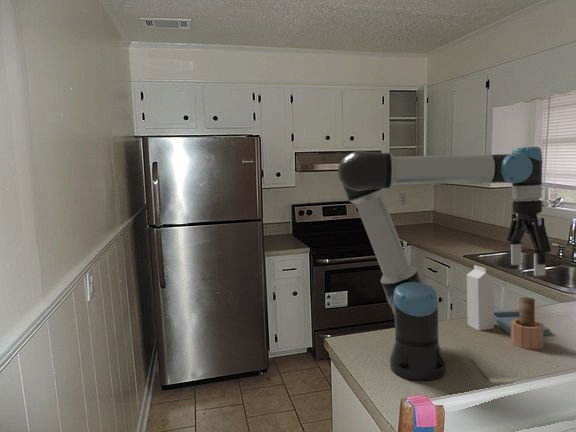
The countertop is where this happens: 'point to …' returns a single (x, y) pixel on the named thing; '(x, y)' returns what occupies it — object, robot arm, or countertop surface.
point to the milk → (480, 299)
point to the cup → (527, 335)
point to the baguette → (527, 312)
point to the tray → (505, 319)
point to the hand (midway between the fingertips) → (527, 269)
